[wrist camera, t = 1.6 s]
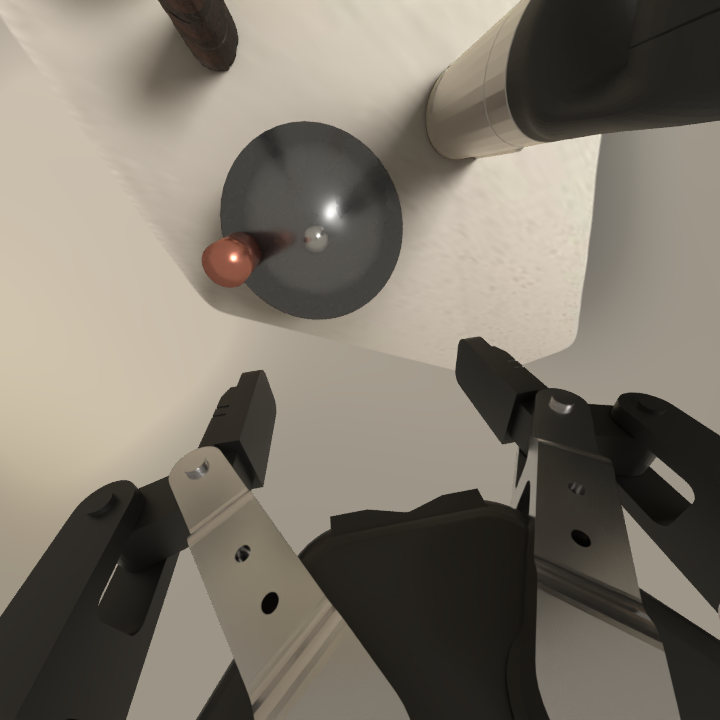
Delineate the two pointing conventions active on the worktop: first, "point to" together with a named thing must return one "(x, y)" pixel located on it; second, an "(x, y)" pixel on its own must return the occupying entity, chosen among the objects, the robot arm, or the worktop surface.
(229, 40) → the butter churn
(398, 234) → the grey disc with knob
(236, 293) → the worktop surface
